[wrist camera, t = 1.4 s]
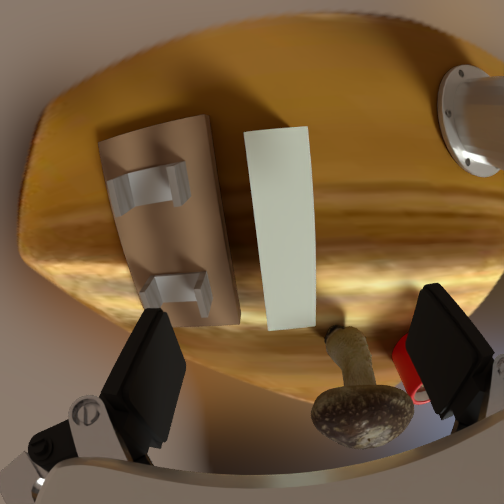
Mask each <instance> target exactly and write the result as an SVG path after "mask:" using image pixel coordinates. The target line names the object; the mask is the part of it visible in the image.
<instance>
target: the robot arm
mask: <svg viewBox="0 0 504 504" xmlns="http://www.w3.org/2000/svg"><path fill="white" fill-rule="evenodd" d="M437 107H438V118H439V124H440V129H441V132H442V136H443V139H444V141H445V143H446V146H447V148H448V150H449V152H450V154H451V155H452V157H453V159H454V160H455V161H456V162H457V164H458V165H459V166H460V167H461V168H463V169H464V170H465V171H467V172H468V173H470V174H472V175H476V176H479V177H488V176H492V175H494V174H495V173H497V172H498V171H499V170H500V169H502V170H504V76H495V77H490V76H489V75H487V74H486V73H485V72H484V71H482V70H481V69H479V68H477V67H475V66H471V65H460V66H456V67H453V68H452V69H450V70H449V71H448V72H447V73H446V74H445V75H444V77H443V79H442V81H441V83H440V87H439V91H438V101H437ZM405 347H406V351H407V353H408V355H409V357H410V359H411V361H412V363H413V365H414V367H415V369H416V371H417V373H418V375H419V377H420V379H421V382H422V384H423V386H424V388H425V390H426V393H427V395H428V397H429V399H430V402H431V404H432V406H433V409H434V411H435V413H436V414H439V415H440V418H441V420H444V419H446V418H448V417H451V416H453V414H454V416H455V423H454V426H453V429H452V432H451V435H449V436H446V437H444V438H441V439H439V440H436V441H434V442H432V443H429V444H426V445H423V446H421V447H418V448H415V449H412V450H409V451H406V452H403V453H400V454H396V455H393V456H389V457H386V458H382V459H378V460H374V461H370V462H366V463H362V464H357V465H352V466H348V467H342V468H336V469H330V470H323V471H315V472H306V473H295V474H281V475H223V474H209V473H199V472H191V471H182V470H175V469H168V468H162V467H157V466H154V465H153V463H152V461H151V460H150V458H149V456H148V454H147V453H148V449H149V447H154V448H159V449H161V446H162V443H163V442H166V441H167V438H168V434H169V431H170V427H171V423H172V419H173V415H174V411H175V408H176V404H177V400H178V396H179V393H180V389H181V386H182V382H183V378H184V375H185V371H186V362H185V359H184V357H183V354H182V352H181V349H180V346H179V344H178V341H177V338H176V336H175V333H174V330H173V328H172V325H171V322H170V319H169V316H168V314H167V312H163V310H162V309H161V308H146V309H145V310H144V312H143V313H142V315H141V317H140V319H139V320H138V322H137V324H136V326H135V328H134V329H133V331H132V333H131V335H130V337H129V338H128V341H127V342H126V344H125V346H124V348H123V350H122V352H121V353H120V356H119V357H118V359H117V361H116V363H115V365H114V367H113V369H112V371H111V373H110V375H109V377H108V379H107V381H106V383H105V385H104V387H103V389H102V391H101V394H100V396H99V397H97V396H94V395H86V396H82V397H80V398H78V399H77V400H76V401H75V402H74V403H73V404H72V405H71V407H70V409H69V412H68V420H65V421H64V422H61V423H59V424H57V425H55V426H53V427H50V428H48V429H46V430H44V431H41V432H39V433H37V434H36V435H34V436H33V437H32V438H31V440H30V442H29V445H28V453H27V452H25V451H24V452H23V453H22V454H20V455H19V456H18V457H17V458H16V459H14V460H13V461H12V462H11V463H10V464H8V466H6V467H5V468H4V469H3V470H1V472H0V493H1V495H2V497H3V499H4V501H5V503H6V504H504V354H501V355H499V356H497V357H496V358H495V360H494V359H493V358H492V356H493V354H494V353H495V352H494V351H493V349H492V348H491V347H490V345H489V344H488V342H487V341H486V340H485V338H484V337H483V336H482V334H481V333H480V332H479V330H478V329H477V328H476V327H475V325H474V324H473V323H472V322H471V320H470V319H469V318H468V316H467V315H466V314H465V313H464V312H463V310H462V309H461V308H460V307H459V305H458V304H457V303H456V302H455V301H454V300H453V298H452V297H451V296H450V295H449V294H448V293H447V292H446V290H445V289H444V288H443V287H442V286H441V285H440V284H439V283H433V284H427V285H424V287H423V289H421V290H420V292H419V296H418V300H417V304H416V308H415V312H414V315H413V319H412V322H411V326H410V329H409V332H408V336H407V339H406V342H405Z"/></svg>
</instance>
